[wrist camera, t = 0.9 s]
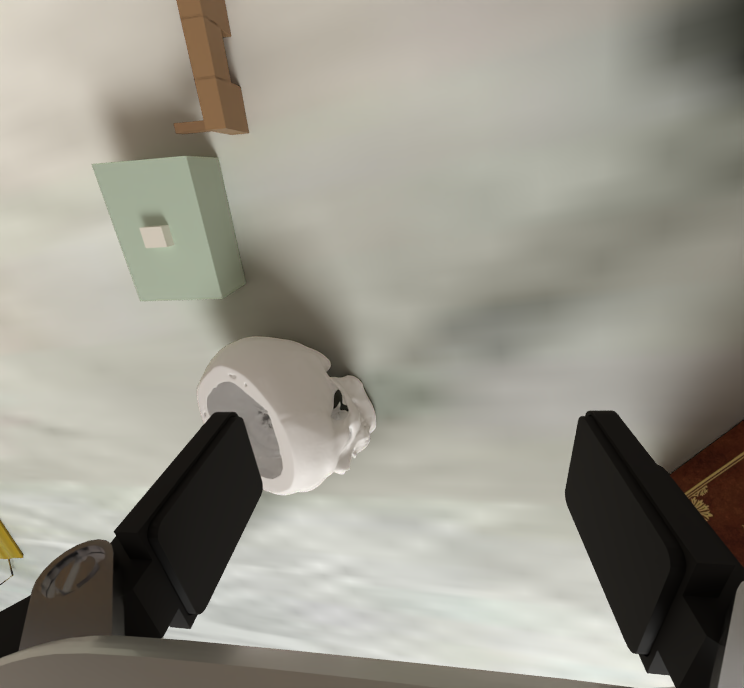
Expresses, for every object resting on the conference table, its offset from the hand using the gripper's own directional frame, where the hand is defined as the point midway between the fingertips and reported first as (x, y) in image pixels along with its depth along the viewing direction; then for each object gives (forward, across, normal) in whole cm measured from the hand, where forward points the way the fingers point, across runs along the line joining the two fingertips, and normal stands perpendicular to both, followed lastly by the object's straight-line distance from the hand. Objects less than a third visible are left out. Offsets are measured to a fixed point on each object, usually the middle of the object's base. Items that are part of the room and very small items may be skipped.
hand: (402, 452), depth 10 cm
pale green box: (+34, +26, -3) cm, 43 cm away
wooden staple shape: (+34, +19, -18) cm, 43 cm away
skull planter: (+34, +16, +18) cm, 42 cm away
